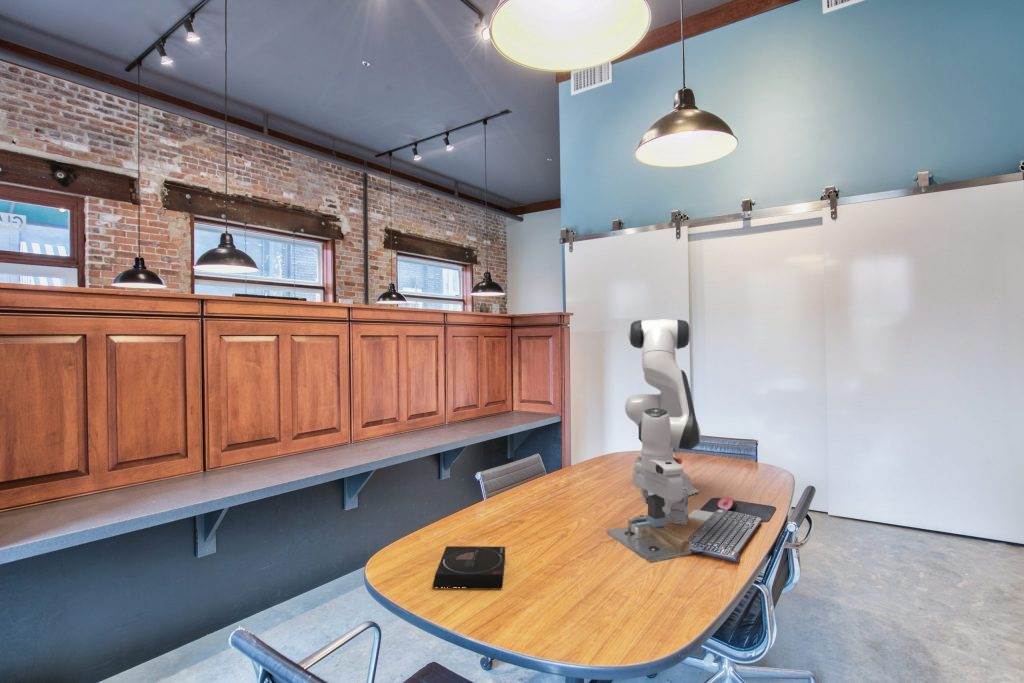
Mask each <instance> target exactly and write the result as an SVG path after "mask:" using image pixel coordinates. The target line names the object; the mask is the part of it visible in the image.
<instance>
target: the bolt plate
mask: <svg viewBox="0 0 1024 683" xmlns="http://www.w3.org/2000/svg"><path fill="white" fill-rule="evenodd" d="M635 527H636V526H635V525H631V534H629V533H628V526H622V527H618V528H612V529H611V528H610V529H607V530H606V534H607V535H609V536H610V537H612V538H613V539H614V540H616V541H617V542H619V543H620V544H622V545H623V546H625V547H626V548H627V549H629V550H630V551H632V552H634V553H635V554H636V555H638V556H640V558H642V559H644V560H645V559H646V560H645V561H647V562H648V561H649V562H648V563H654V562H653V561H655V562H659V561H658V560H660V561H664V560H663V559H665V560H669V559H668V558H671V559H674V558H673V557H676V558H679V557H678V556H681V557H683V556H682V555H686V556H690V555H689V554H691V551H688V552H683V553H681V552H679V551H677V550H676V549H674V548H672V547H671V546H669V545H667V544H665V543H664V542H662V541H660V540H659V539H657V538H655V537H654V536H652V535H650V534H649V533H647V532H645V531H644V530H642V529H640V528H639V538H635ZM691 555H692V554H691Z"/></svg>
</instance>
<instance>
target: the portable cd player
mask: <svg viewBox="0 0 1024 683" xmlns="http://www.w3.org/2000/svg"><path fill="white" fill-rule="evenodd" d="M504 566H506V546H477V545H476V546H470V545H469V546H466V545H465V546H462V545H459V546H455V545H453V546H451V545H450V546H445V548H444V552H443V554H442V555H441V559H440V561H439V564H438V566H437V569H436V572H435V575H434V578H433V583H432V587H433V589H434V588H435V587H438V588H441V587H443V588H444V587H445V588H447V587H448V588H453V587H457V588H458V587H460V588H462V587H466V588H502V589H503V587H502V586H503V584H504V577H503V576H504V575H505V567H504Z"/></svg>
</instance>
